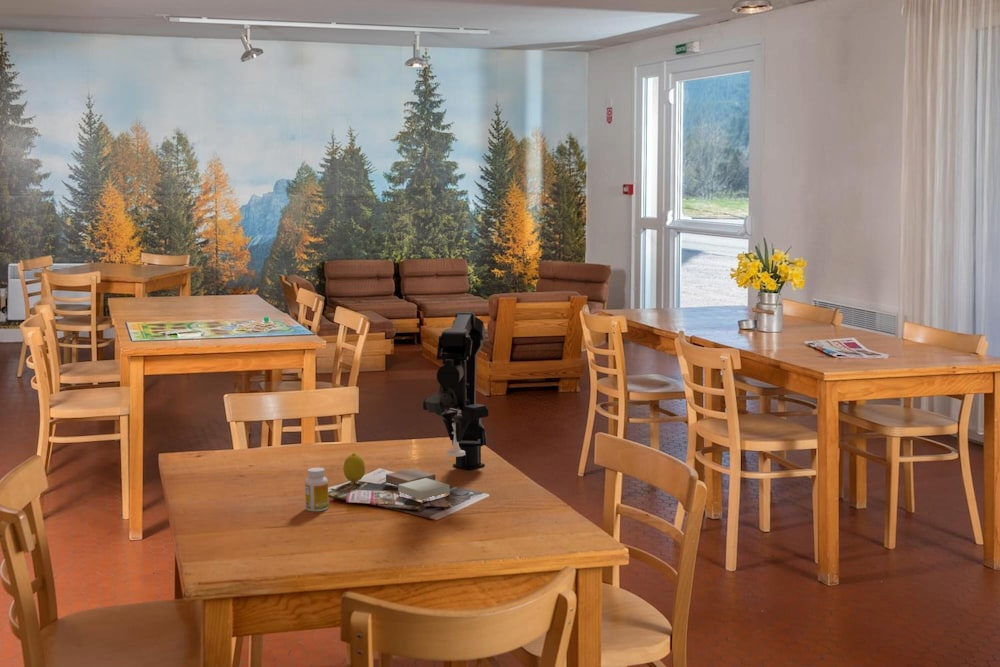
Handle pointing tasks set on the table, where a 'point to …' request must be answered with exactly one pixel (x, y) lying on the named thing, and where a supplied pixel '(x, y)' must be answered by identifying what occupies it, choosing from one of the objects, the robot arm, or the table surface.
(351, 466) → the lemon
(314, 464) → the table surface
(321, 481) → the supplement bottle
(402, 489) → the sage slab
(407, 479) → the walnut slab
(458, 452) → the chess piece
